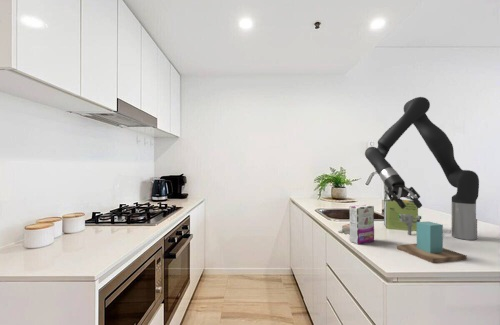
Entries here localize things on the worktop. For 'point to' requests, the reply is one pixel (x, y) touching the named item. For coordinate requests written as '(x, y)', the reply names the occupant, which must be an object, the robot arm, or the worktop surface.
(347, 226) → the packaged product
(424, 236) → the teal rectangular block
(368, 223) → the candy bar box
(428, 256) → the plate
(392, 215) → the protein box
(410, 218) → the mechanical component
